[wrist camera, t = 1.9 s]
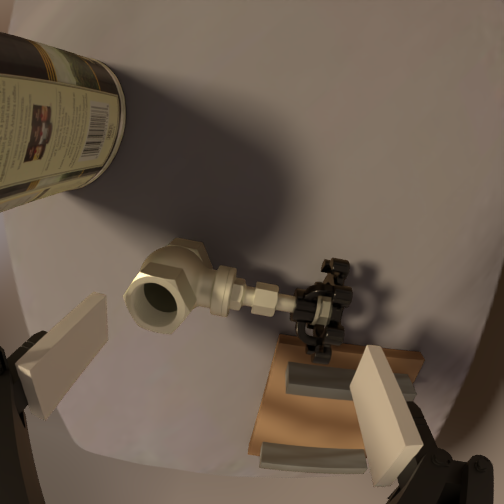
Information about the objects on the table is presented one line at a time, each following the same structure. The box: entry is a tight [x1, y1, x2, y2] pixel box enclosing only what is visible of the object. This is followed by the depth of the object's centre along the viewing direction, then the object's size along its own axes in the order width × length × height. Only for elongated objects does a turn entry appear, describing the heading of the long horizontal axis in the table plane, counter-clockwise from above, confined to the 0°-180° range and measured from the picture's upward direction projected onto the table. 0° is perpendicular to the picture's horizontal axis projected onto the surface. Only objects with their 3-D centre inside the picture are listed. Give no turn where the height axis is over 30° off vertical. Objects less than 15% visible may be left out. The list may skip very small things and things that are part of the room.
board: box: [248, 334, 425, 474], centre depth 24 cm, size 14×12×4 cm
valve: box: [123, 238, 353, 365], centre depth 19 cm, size 7×7×12 cm
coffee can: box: [0, 32, 126, 212], centre depth 13 cm, size 10×10×14 cm
